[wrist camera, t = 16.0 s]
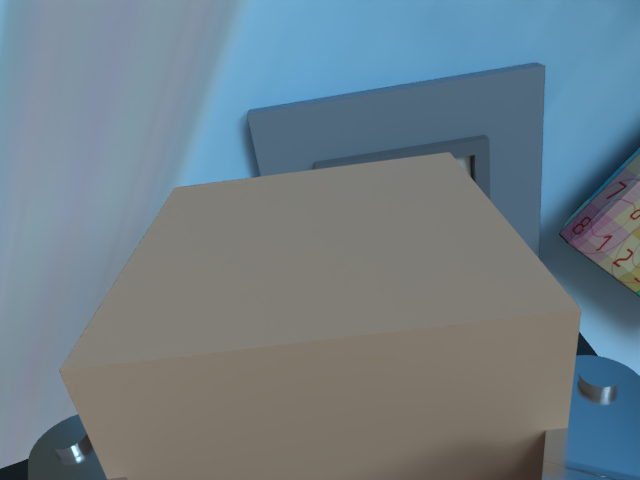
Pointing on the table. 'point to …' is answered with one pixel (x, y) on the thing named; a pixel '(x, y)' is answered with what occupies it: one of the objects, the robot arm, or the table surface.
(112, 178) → the table surface
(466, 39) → the table surface
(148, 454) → the beige cube
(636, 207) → the puzzle game
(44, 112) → the table surface
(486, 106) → the slate gray baseplate
